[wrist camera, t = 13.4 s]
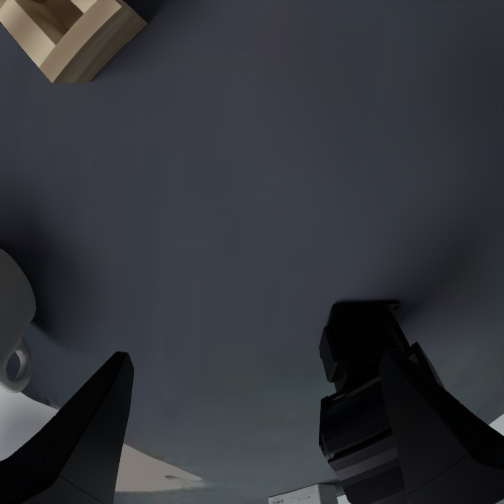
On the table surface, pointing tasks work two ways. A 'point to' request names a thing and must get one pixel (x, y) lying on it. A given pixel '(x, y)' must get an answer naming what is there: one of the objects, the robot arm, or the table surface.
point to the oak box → (71, 34)
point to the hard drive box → (308, 496)
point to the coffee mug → (14, 322)
